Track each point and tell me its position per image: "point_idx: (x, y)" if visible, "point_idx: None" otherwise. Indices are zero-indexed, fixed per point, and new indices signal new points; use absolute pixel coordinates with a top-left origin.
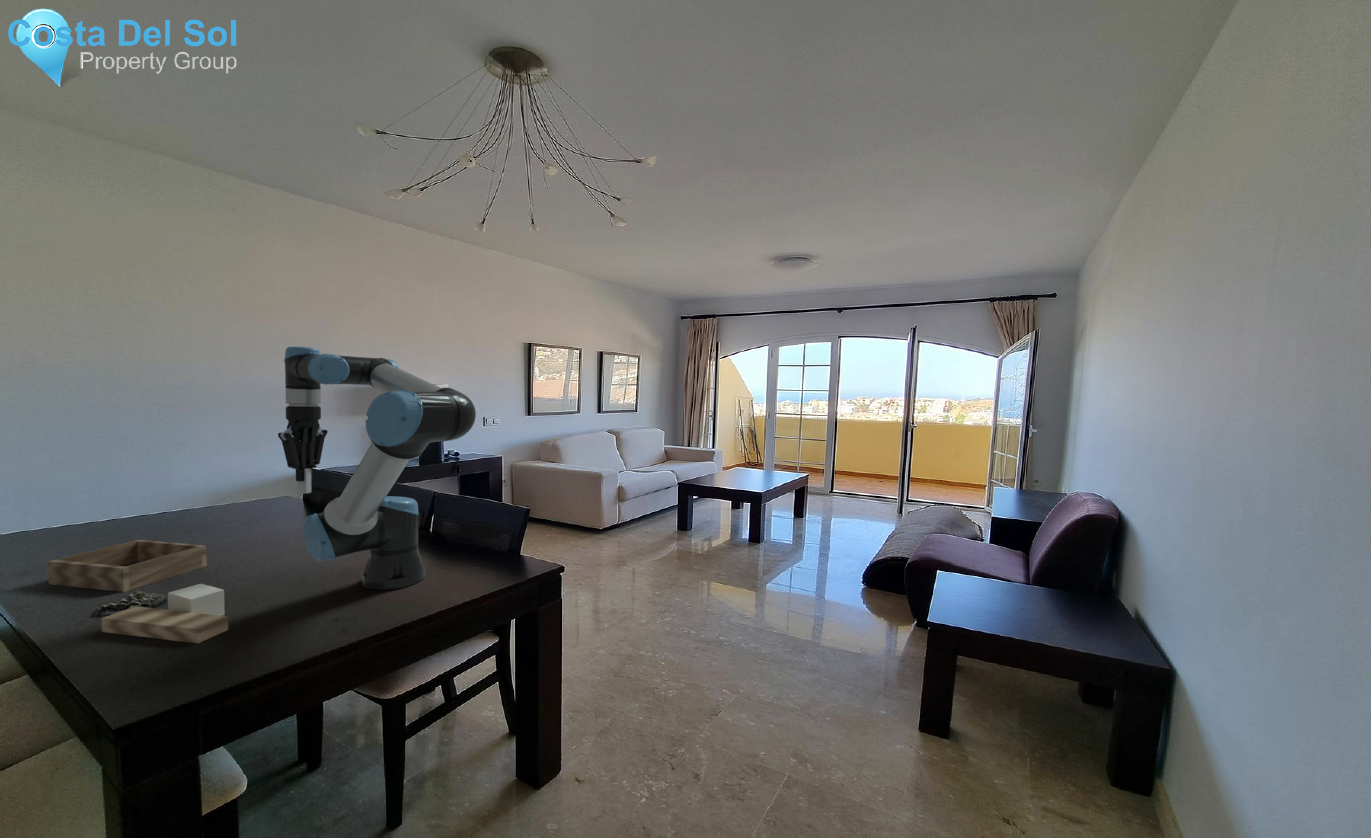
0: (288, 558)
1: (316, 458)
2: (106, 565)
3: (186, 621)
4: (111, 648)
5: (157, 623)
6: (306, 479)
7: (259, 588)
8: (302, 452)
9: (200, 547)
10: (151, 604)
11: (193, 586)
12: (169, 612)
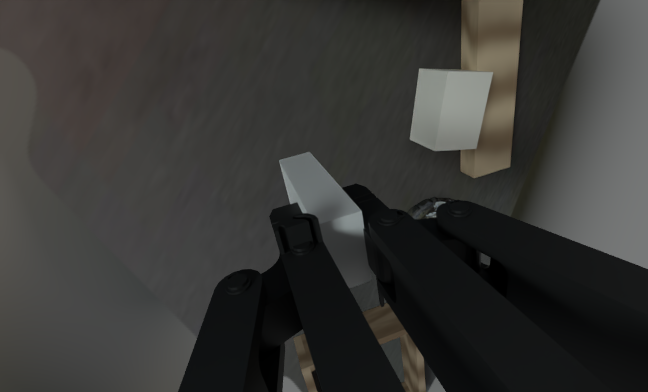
0: (190, 284)
1: (258, 316)
2: (418, 351)
3: (505, 30)
4: (527, 86)
5: (515, 68)
6: (332, 180)
7: (320, 149)
8: (508, 312)
9: (311, 365)
10: (432, 204)
11: (447, 144)
12: None
